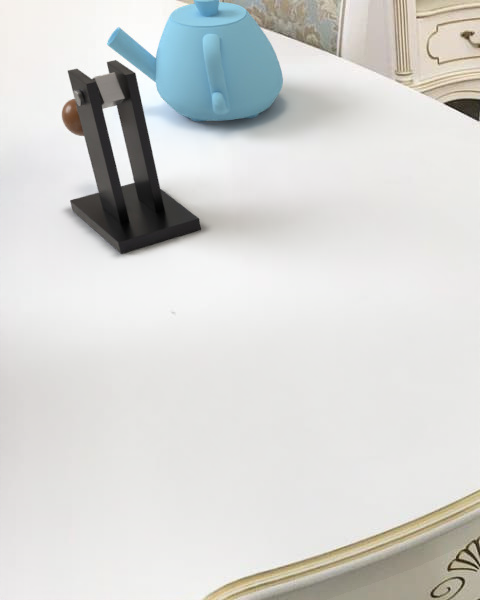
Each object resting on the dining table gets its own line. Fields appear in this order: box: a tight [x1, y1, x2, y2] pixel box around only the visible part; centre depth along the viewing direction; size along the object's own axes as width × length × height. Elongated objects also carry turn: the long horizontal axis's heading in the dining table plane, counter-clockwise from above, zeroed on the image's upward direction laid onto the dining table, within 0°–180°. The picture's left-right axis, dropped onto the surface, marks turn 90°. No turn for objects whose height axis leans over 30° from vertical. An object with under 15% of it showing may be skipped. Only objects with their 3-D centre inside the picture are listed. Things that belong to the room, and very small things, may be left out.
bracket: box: [67, 59, 202, 254], centre depth 112 cm, size 12×9×15 cm
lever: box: [61, 72, 125, 137], centre depth 113 cm, size 14×4×4 cm, turn 39°
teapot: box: [106, 0, 284, 123], centre depth 134 cm, size 20×20×13 cm
